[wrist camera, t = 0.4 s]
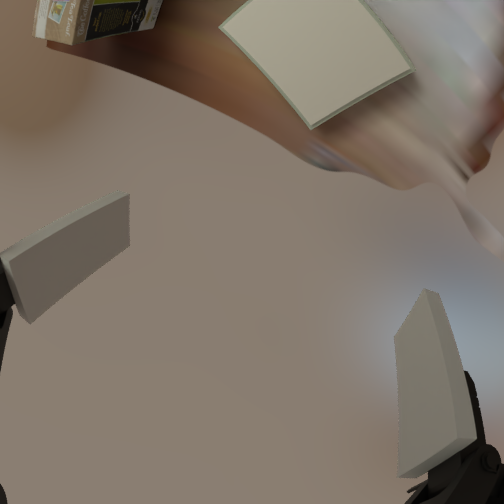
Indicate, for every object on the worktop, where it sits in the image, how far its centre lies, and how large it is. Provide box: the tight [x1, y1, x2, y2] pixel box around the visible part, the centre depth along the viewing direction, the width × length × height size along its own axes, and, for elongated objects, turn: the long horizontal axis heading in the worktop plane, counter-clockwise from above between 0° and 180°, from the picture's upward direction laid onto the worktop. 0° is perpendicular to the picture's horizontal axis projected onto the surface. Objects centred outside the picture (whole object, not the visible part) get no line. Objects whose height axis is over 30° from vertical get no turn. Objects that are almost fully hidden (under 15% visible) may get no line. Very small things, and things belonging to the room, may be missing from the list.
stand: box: [218, 0, 416, 130], centre depth 24 cm, size 14×16×4 cm
